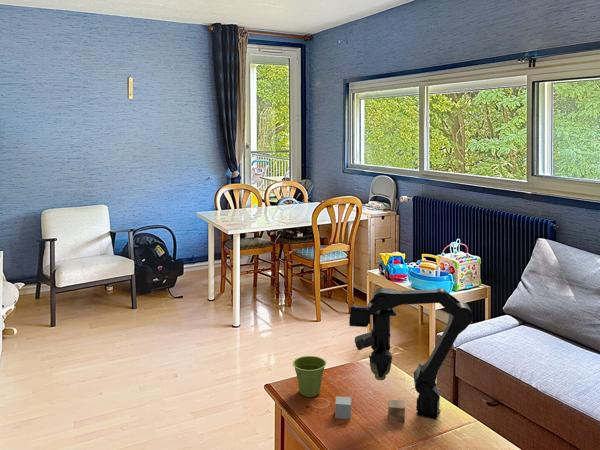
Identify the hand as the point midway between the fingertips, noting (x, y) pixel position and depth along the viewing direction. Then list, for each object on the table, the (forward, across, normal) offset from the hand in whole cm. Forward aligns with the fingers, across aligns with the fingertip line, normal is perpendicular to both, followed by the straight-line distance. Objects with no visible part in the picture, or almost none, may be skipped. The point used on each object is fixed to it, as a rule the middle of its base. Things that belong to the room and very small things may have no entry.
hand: (380, 372), depth 173 cm
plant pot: (+13, -9, -24) cm, 29 cm away
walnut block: (+13, +5, +5) cm, 15 cm away
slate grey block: (+13, +5, -12) cm, 18 cm away
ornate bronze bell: (+2, 0, 0) cm, 2 cm away
